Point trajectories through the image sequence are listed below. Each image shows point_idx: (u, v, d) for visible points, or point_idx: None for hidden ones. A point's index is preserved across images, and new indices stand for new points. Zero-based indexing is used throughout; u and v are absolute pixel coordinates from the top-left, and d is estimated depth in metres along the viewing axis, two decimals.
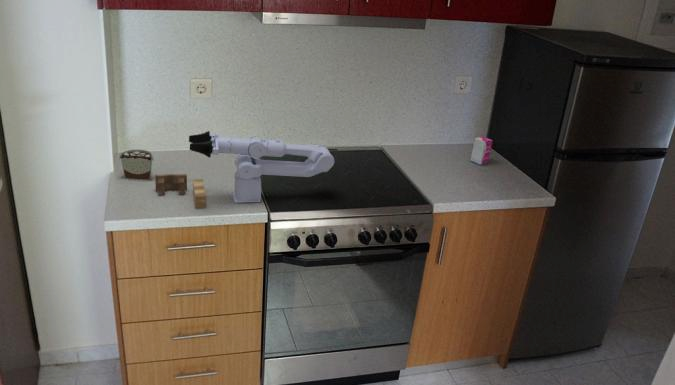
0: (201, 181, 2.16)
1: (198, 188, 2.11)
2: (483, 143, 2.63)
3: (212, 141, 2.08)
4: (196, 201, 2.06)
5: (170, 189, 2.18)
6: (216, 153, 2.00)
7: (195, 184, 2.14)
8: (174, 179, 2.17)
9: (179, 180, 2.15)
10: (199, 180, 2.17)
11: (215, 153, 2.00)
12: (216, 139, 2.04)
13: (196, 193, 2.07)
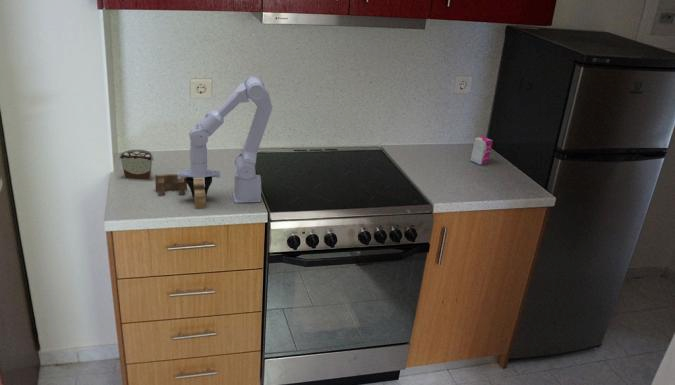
0: (201, 181, 2.16)
1: (198, 187, 2.11)
2: (483, 143, 2.63)
3: None
4: (196, 201, 2.06)
5: (170, 189, 2.18)
6: None
7: (195, 184, 2.13)
8: (174, 179, 2.17)
9: (179, 180, 2.15)
10: (199, 179, 2.17)
11: None
12: None
13: (196, 193, 2.07)
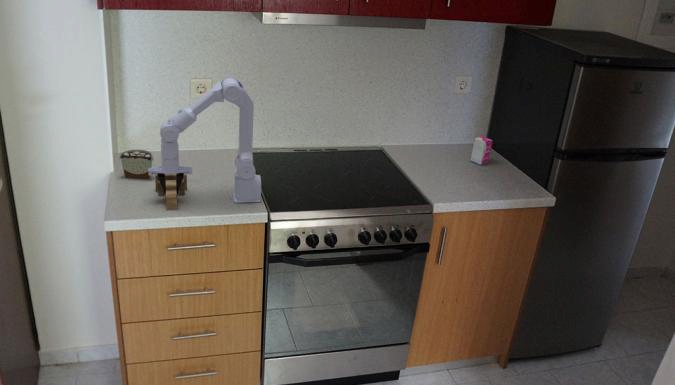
0: (174, 182, 2.14)
1: (170, 188, 2.08)
2: (483, 143, 2.63)
3: None
4: (167, 202, 2.03)
5: None
6: None
7: (167, 185, 2.11)
8: (174, 179, 2.17)
9: None
10: (172, 180, 2.15)
11: None
12: None
13: (167, 194, 2.04)
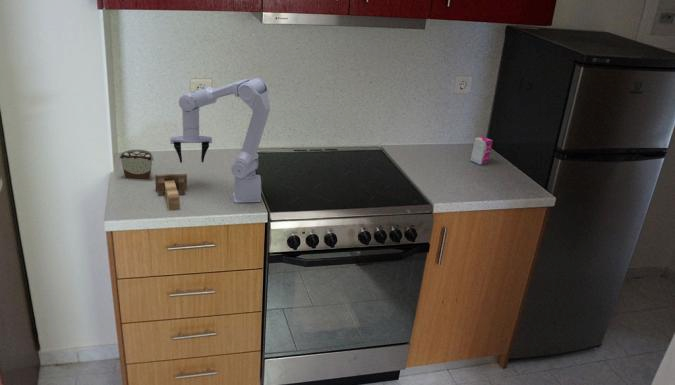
0: (173, 182, 2.14)
1: (170, 189, 2.08)
2: (483, 143, 2.63)
3: None
4: (170, 202, 2.03)
5: None
6: (170, 139, 2.13)
7: (167, 185, 2.11)
8: (174, 179, 2.17)
9: (179, 180, 2.15)
10: (170, 181, 2.14)
11: (170, 140, 2.13)
12: None
13: (169, 194, 2.04)
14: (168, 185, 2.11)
